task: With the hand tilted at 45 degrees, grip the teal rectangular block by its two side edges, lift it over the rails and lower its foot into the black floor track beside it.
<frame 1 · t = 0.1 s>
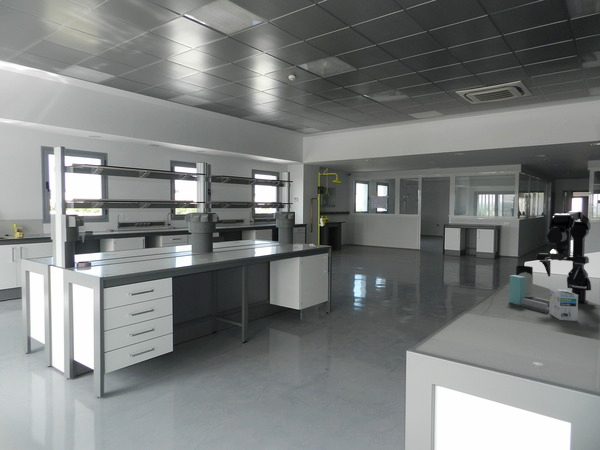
hand: (561, 277, 173), 15 cm above the counter, tool pointing down, fingers open, 9 cm apart
glass holder: (522, 294, 208), on the counter
light bulb box: (562, 317, 163), on the counter
teal rectangular block: (516, 303, 187), on the counter
floor track: (540, 308, 177), on the counter
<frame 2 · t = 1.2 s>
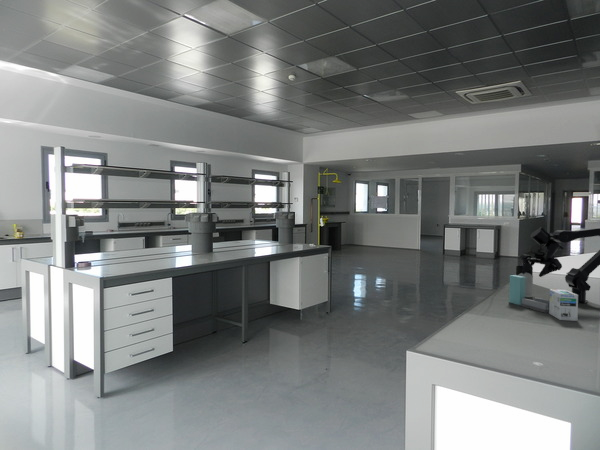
hand: (530, 274, 189), 13 cm above the counter, tool tilted 45°, fingers open, 9 cm apart
nothing on the counter moved.
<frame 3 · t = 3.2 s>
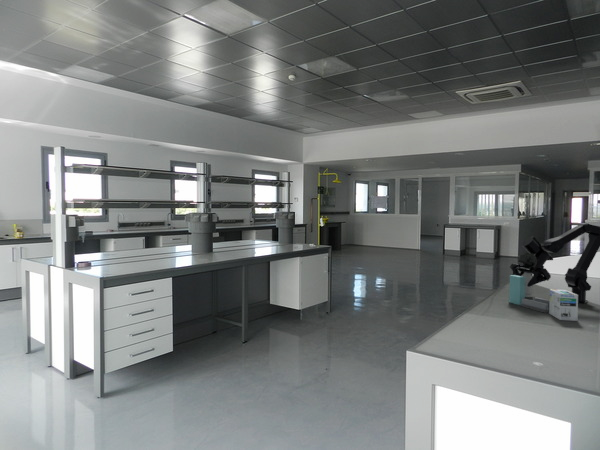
hand: (519, 284, 187), 9 cm above the counter, tool tilted 45°, fingers open, 9 cm apart
nothing on the counter moved.
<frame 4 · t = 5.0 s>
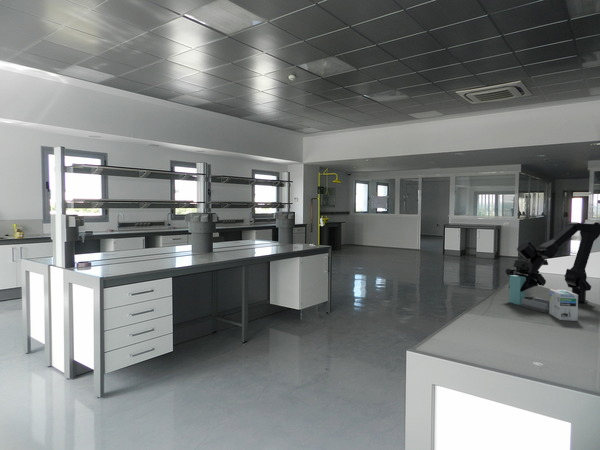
hand: (514, 289, 186), 7 cm above the counter, tool tilted 45°, fingers closed on teal rectangular block, 6 cm apart
teal rectangular block: (516, 303, 187), on the counter, touching gripper
everything else where it was.
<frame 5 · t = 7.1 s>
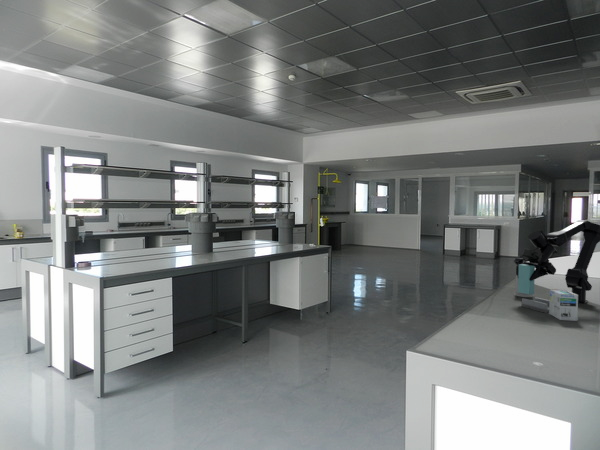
hand: (524, 279, 182), 12 cm above the counter, tool tilted 45°, fingers closed on teal rectangular block, 6 cm apart
teal rectangular block: (526, 293, 183), point 6 cm above the counter, touching gripper
everything else where it was.
when the fingers open (8 cm above the counter, at t = 9.6 s): teal rectangular block stays where it is, resting on floor track.
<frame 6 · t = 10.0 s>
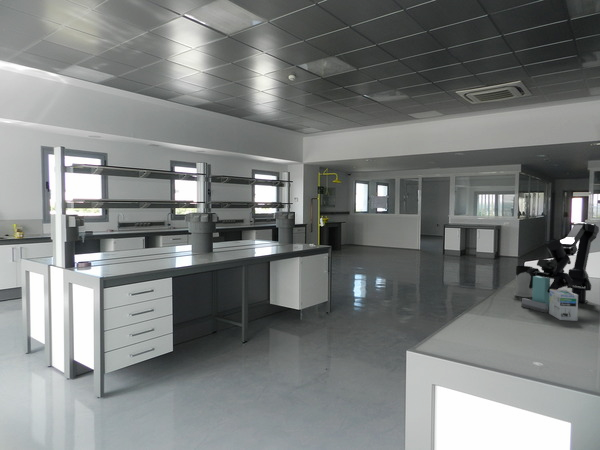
hand: (538, 290, 176), 9 cm above the counter, tool tilted 45°, fingers open, 9 cm apart
teal rectangular block: (540, 306, 177), point 1 cm above the counter, touching floor track
everything else where it was.
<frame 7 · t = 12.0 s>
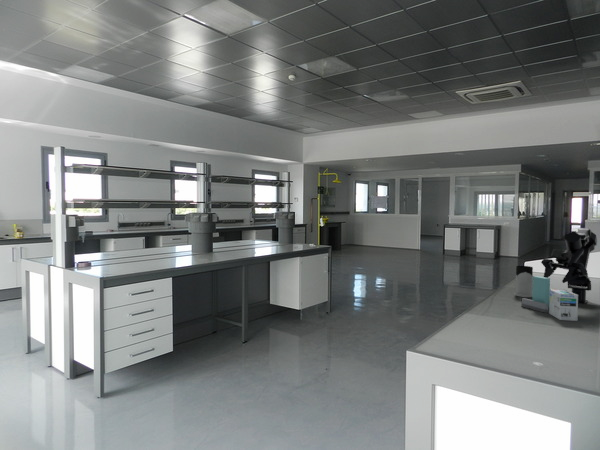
hand: (553, 280, 179), 12 cm above the counter, tool tilted 45°, fingers open, 9 cm apart
nothing on the counter moved.
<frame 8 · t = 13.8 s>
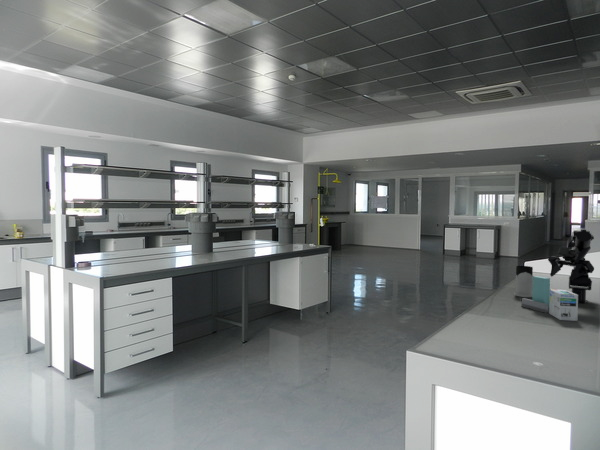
hand: (560, 277, 180), 14 cm above the counter, tool tilted 45°, fingers open, 9 cm apart
nothing on the counter moved.
at the end: teal rectangular block inside the target area on the floor track (0.0 cm from its centre), point 1.2 cm above the floor track's base; teal rectangular block tilted 0°; the gripper is holding nothing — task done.
